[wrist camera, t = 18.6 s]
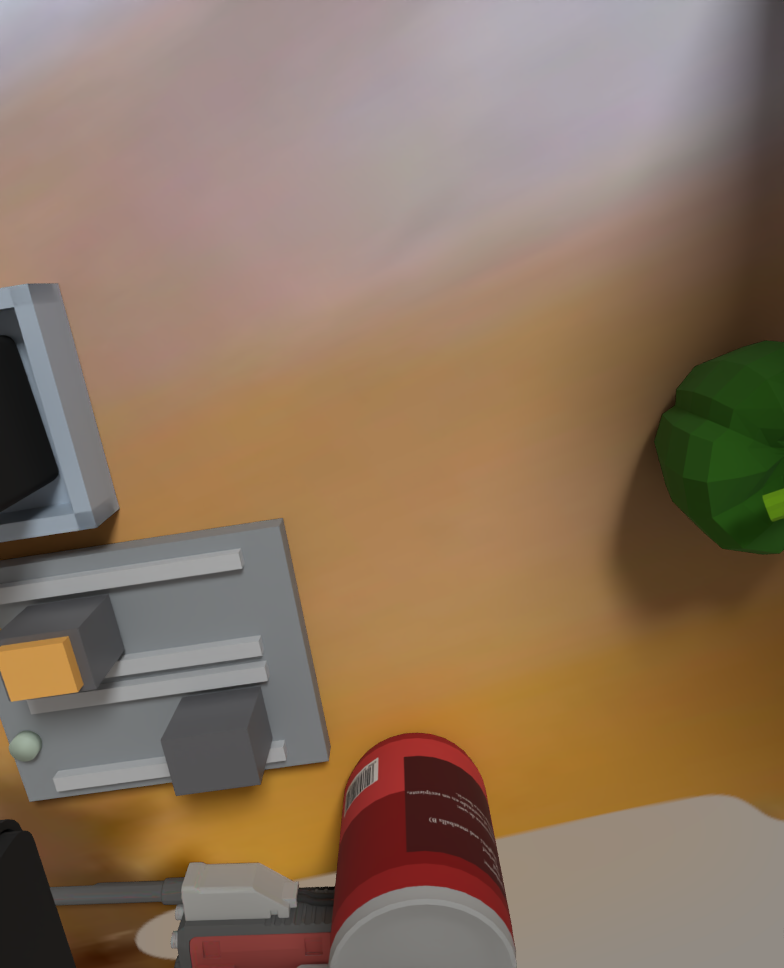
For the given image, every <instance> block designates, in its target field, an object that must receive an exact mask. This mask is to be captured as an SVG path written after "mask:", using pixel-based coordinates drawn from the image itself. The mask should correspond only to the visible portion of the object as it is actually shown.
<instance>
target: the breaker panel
mask: <svg viewBox="0 0 784 968" xmlns="http://www.w3.org/2000/svg"><path fill="white" fill-rule="evenodd" d="M106 594H109V597H110V600H111V604H112V607H113V611H114V614H115V618H116V621H117V625H118V628H119V632H120V635H121V639H122V642H123V646H124V649H125V650H124V652H123V653H122V654H121V656H120V657H119V659H118V660H117V661H116V663H115V664H114V665H113V667H112V668H111V670H110V671H109V672H108V674H107V675H106V677H105V678H104V679H103V681H102V682H101V684H100V685H99V686H98V688H97V689H94V690H87V691H80V692H76V693H69V694H62V695H55V696H48V697H41V698H34V699H27V700H20V701H13V702H11V701H9V700H8V697H7V694H6V691H5V688H4V685H3V683H2V680H1V677H0V718H1V721H2V724H3V727H4V730H5V733H6V735H7V738H8V741H9V744H10V745H9V751H10V754H11V755H12V756H13V757H14V758H15V761H16V764H17V767H18V770H19V773H20V775H21V778H22V781H23V784H24V787H25V790H26V793H27V795H28V798H29V801H30V802H31V801H38V800H45V799H53V798H60V797H67V796H75V795H82V794H89V793H97V792H104V791H111V790H119V789H126V788H134V787H141V786H148V785H156V784H163V783H170V782H172V780H171V777H170V773H169V769H168V766H167V762H166V759H165V755H164V752H163V748H162V745H161V741H160V740H161V738H162V736H163V734H164V732H165V730H166V728H167V726H168V724H169V722H170V720H171V718H172V716H173V714H174V712H175V710H176V708H177V706H178V704H179V702H180V700H181V698H182V697H188V696H195V695H202V694H209V693H216V692H223V691H230V690H238V689H245V688H252V687H259V686H261V690H262V694H263V699H264V703H265V707H266V711H267V716H268V720H269V724H270V729H271V733H272V737H273V739H272V743H271V746H270V750H269V754H268V758H267V762H266V766H265V770H266V769H273V768H280V767H288V766H295V765H302V764H310V763H317V762H324V761H329V755H330V747H331V746H330V741H329V736H328V732H327V727H326V722H325V717H324V713H323V708H322V703H321V698H320V693H319V689H318V684H317V679H316V674H315V669H314V665H313V660H312V655H311V650H310V646H309V641H308V636H307V631H306V626H305V622H304V617H303V612H302V607H301V602H300V598H299V593H298V588H297V583H296V578H295V574H294V569H293V564H292V559H291V555H290V550H289V545H288V540H287V535H286V531H285V526H284V521H283V518H280V519H273V520H266V521H260V522H253V523H247V524H240V525H233V526H227V527H220V528H213V529H207V530H200V531H193V532H187V533H180V534H173V535H167V536H160V537H153V538H147V539H140V540H134V541H127V542H120V543H114V544H107V545H100V546H94V547H87V548H80V549H74V550H67V551H60V552H54V553H47V554H40V555H34V556H27V557H20V558H14V559H7V560H1V561H0V630H1V629H3V628H4V627H5V626H6V625H7V624H8V623H9V622H10V621H11V620H13V619H14V618H15V617H16V616H17V615H18V614H19V613H20V612H22V611H23V610H24V609H25V608H26V607H27V606H31V605H38V604H45V603H52V602H58V601H65V600H72V599H79V598H85V597H92V596H99V595H106Z"/></svg>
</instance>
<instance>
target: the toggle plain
mask: <svg viewBox="0 0 784 968" xmlns="http://www.w3.org/2000/svg"><path fill="white" fill-rule="evenodd" d="M272 739H273V737H272V733H271V729H270V724H269V720H268V716H267V711H266V707H265V703H264V699H263V694H262V690H261V686H259V687H252V688H245V689H238V690H230V691H223V692H216V693H209V694H202V695H195V696H188V697H182V698H181V700H180V702H179V704H178V706H177V708H176V710H175V712H174V714H173V716H172V718H171V720H170V722H169V724H168V726H167V728H166V730H165V732H164V734H163V736H162V738H161V740H160V741H161V745H162V748H163V752H164V755H165V759H166V762H167V766H168V769H169V773H170V777H171V780H172V784H173V787H174V791H175V794H176V796H179V795H186V794H194V793H201V792H209V791H216V790H223V789H231V788H238V787H246V786H253V785H260V784H261V781H262V778H263V774H264V770H265V766H266V762H267V758H268V754H269V750H270V746H271V743H272Z"/></svg>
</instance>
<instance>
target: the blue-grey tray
mask: <svg viewBox="0 0 784 968" xmlns="http://www.w3.org/2000/svg"><path fill="white" fill-rule="evenodd" d="M0 335H6V336H9V337H11V338H12V339H13V340H14V342H15V343H16V346H17V348H18V351H19V354H20V357H21V360H22V363H23V366H24V369H25V372H26V375H27V377H28V380H29V383H30V386H31V389H32V392H33V395H34V398H35V401H36V404H37V407H38V410H39V413H40V416H41V419H42V422H43V425H44V428H45V431H46V434H47V437H48V440H49V443H50V446H51V449H52V452H53V454H54V457H55V461H56V464H57V467H58V471H59V473H58V476H57V478H56V479H55V480H54V481H52V482H50V483H49V484H47V485H46V486H44V487H42V488H40V489H39V490H37V491H35V492H34V493H32V494H30V495H29V496H27V497H25V498H24V499H22V500H20V501H19V502H17V503H15V504H14V505H12V506H10V507H9V508H7V509H5V510H3V511H2V512H0V542H6V541H12V540H19V539H26V538H32V537H39V536H45V535H52V534H59V533H65V532H72V531H78V530H85V529H92V528H97V527H98V526H99V525H101V524H102V523H103V522H104V521H105V520H106V519H108V518H109V517H110V516H111V515H112V514H114V513H115V512H116V511H117V510H118V509H119V505H118V501H117V498H116V494H115V490H114V487H113V483H112V479H111V476H110V472H109V468H108V465H107V461H106V457H105V454H104V450H103V446H102V443H101V439H100V435H99V432H98V428H97V424H96V421H95V417H94V413H93V410H92V406H91V403H90V399H89V395H88V392H87V388H86V384H85V381H84V377H83V373H82V370H81V366H80V362H79V359H78V355H77V351H76V348H75V344H74V340H73V337H72V333H71V329H70V326H69V322H68V318H67V315H66V311H65V307H64V304H63V300H62V296H61V293H60V289H59V285H58V283H55V284H23V285H17V286H11V287H5V288H0Z"/></svg>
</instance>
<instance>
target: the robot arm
mask: <svg viewBox="0 0 784 968" xmlns="http://www.w3.org/2000/svg"><path fill="white" fill-rule="evenodd" d="M0 968H76V966H75V963H74V960H73V957H72V954H71V951H70V948H69V945H68V942H67V939H66V935H65V932H64V929H63V926H62V923H61V920H60V917H59V914H58V911H57V908H56V905H55V902H54V899H53V896H52V893H51V890H50V887H49V884H48V881H47V878H46V875H45V872H44V868H43V865H42V862H41V859H40V856H39V853H38V850H37V847H36V844H35V841H34V838H33V836H32V834H31V833H30V832H28V831H22V829H21V827H20V825H19V824H18V823H17V822H16V821H15V820H9V819H7V820H0Z"/></svg>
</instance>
